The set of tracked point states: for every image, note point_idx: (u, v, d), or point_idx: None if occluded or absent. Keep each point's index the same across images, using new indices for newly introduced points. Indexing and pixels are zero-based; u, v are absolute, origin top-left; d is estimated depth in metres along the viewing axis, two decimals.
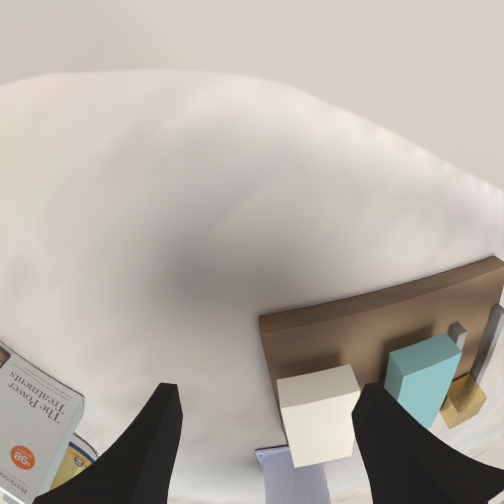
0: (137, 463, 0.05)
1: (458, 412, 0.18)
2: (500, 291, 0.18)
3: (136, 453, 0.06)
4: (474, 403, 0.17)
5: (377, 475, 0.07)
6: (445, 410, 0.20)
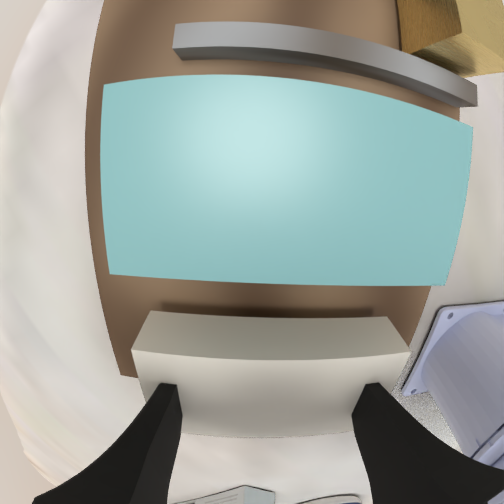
0: (137, 463, 0.05)
1: (459, 31, 0.04)
2: None
3: (136, 453, 0.06)
4: None
5: (377, 475, 0.07)
6: (465, 63, 0.06)
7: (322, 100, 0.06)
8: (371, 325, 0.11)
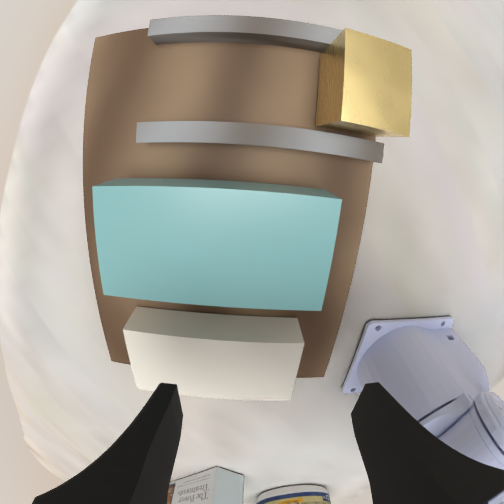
0: (137, 463, 0.05)
1: (340, 118, 0.09)
2: (135, 34, 0.11)
3: (136, 453, 0.06)
4: (342, 65, 0.08)
5: (377, 475, 0.07)
6: (364, 131, 0.11)
7: (216, 199, 0.10)
8: (281, 323, 0.16)
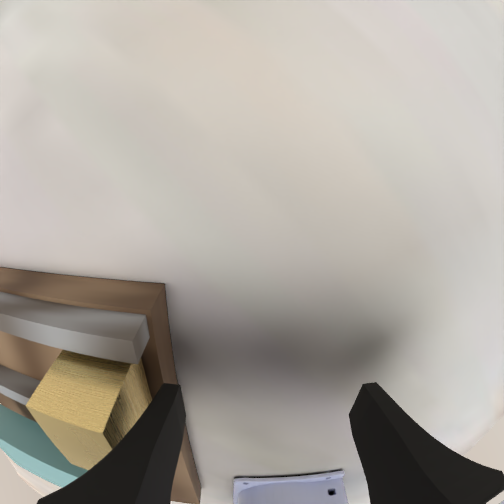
0: (142, 464, 0.05)
1: (71, 460, 0.07)
2: None
3: (141, 454, 0.06)
4: (48, 431, 0.06)
5: (375, 476, 0.07)
6: None
7: (38, 461, 0.08)
8: None
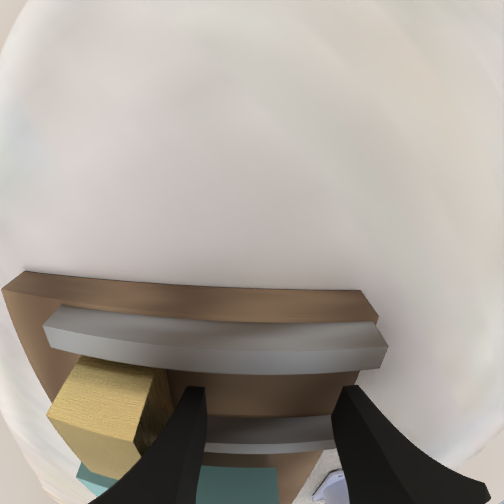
0: (175, 470, 0.05)
1: (90, 468, 0.07)
2: (39, 302, 0.09)
3: (173, 460, 0.06)
4: (68, 440, 0.06)
5: (354, 480, 0.07)
6: None
7: None
8: None
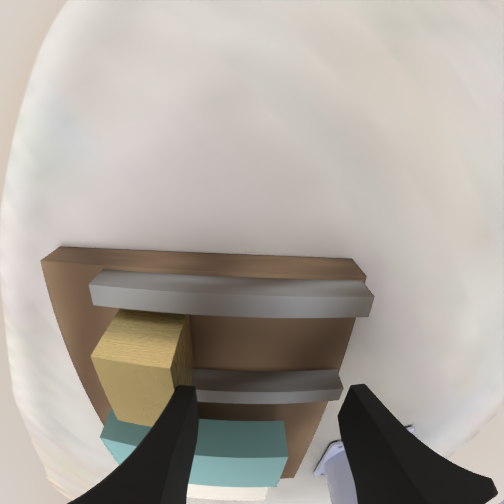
0: (162, 468, 0.05)
1: (117, 417, 0.10)
2: (80, 269, 0.12)
3: (160, 458, 0.06)
4: (104, 384, 0.09)
5: (362, 479, 0.07)
6: None
7: (194, 458, 0.11)
8: None
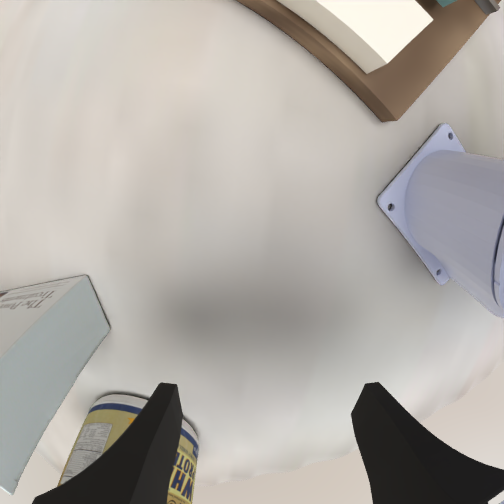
0: (137, 463, 0.05)
1: None
2: None
3: (136, 453, 0.06)
4: None
5: (377, 475, 0.07)
6: None
7: None
8: None
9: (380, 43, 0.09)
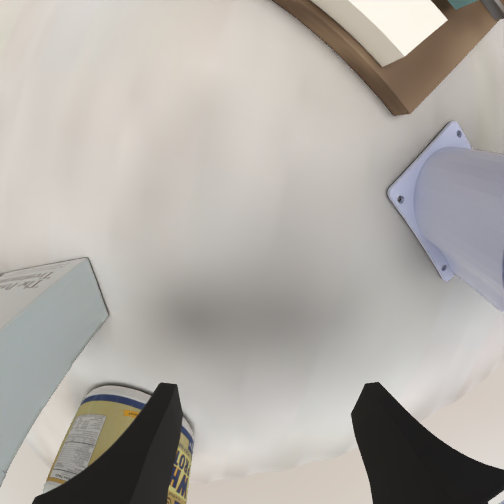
0: (137, 463, 0.05)
1: None
2: None
3: (137, 453, 0.06)
4: None
5: (377, 475, 0.07)
6: None
7: None
8: None
9: (398, 37, 0.09)
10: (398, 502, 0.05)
